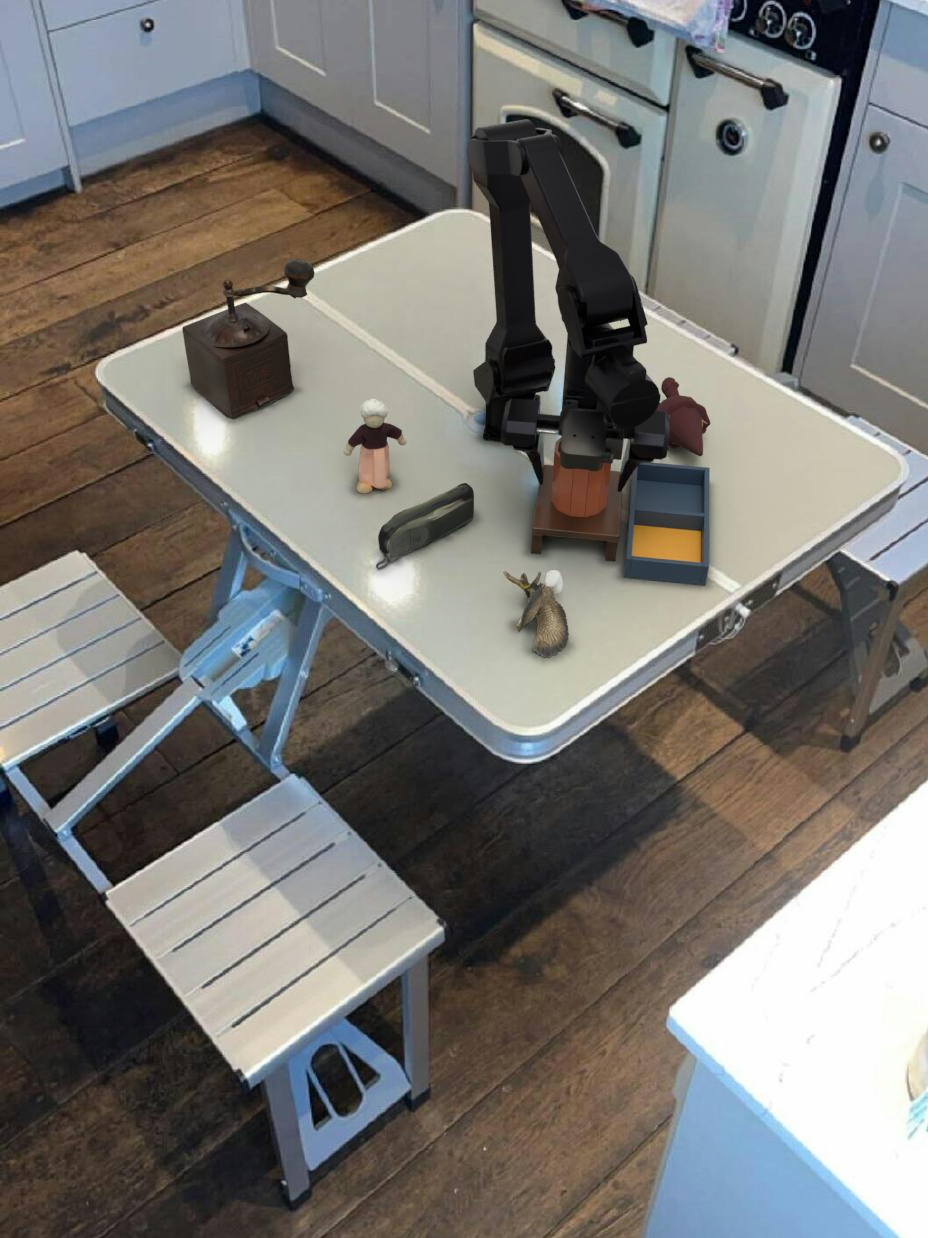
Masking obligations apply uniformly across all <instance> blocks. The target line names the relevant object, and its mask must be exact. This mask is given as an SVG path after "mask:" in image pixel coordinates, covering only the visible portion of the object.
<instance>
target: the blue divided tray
mask: <svg viewBox="0 0 928 1238" xmlns="http://www.w3.org/2000/svg"><path fill="white" fill-rule="evenodd" d="M710 469H711V468H710V467H707V466H697V465H696V466H695V465H685V464H673V463H662V462H650V463H649V462H644V463H640V464H639V465H638V467H637V468H636V469H635V470H634V471H633V473H632V475H631V476H630V485H629V486H630V488H629V500H628V503H629V504H628V515H627V527H626V541H625V542H626V543H625V553H624V554H625V555H624V567H623V569H624V570H623V578H625V579H636V580H644V581H645V580H646V581H656V582H665V583H666V582H667V583H674V584H684V585H685V584H686V585H695V586H706V585H707V579H708V574H709V569H710V472H711V471H710Z"/></svg>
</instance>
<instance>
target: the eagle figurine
mask: <svg viewBox="0 0 928 1238" xmlns="http://www.w3.org/2000/svg"><path fill="white" fill-rule="evenodd" d="M503 575H504V576H505V578H506V579H507V580H508V581H509V582H511V583H512V584H514V585H517V587H519V588H520V590H523V592H524V593H525V596H526V598H527V599H528V600H527V602H526V604H525V606H524V608H523V611H522V613H521V615H520V617H519V619H518V622H517V624H515V627H516V628H517V632H518V633H520V632H521V630H522V629H524V627H525V626H526V625H527V624H529V623H530V622H531V621H532V620H533V619H534V618H535V619H536V622H537V629H536V636H535V639H534V641H533V645H532V651H533V652H536V655H538V656H541V657H542V658H551V657H552V656H553V655H554V656H555V655H556V656H557V654H558V653H559V652H560V651H563V648H565V647H566V646H567V643H568V640H569V636H570V632H569V625H568V618H567V613H566V611H565V610H564V607H563V606H562V604H561V603H559V601H557V600H556V598H555V597H553V596H556V595H559V594H561V593H562V592H563V589H564V585H563V584H564V583H563V581H564V580H563V576H562V573H561V572H560V571H559V570H558V569H557V570H556V569H549V570H548V571H546V572H545V577H544V583H542V581H541V576H542V572H541V571H538V572H537V575H536V577H535V578H534V579H533V580H532V581H531V583H530V582H529V579H528V577H527V574H526V573H525V572H522V573H521V575H520V579H518V578H516V577H514V576H513V575H511V574H510V573H509V572H507V571H503Z"/></svg>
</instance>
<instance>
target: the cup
mask: <svg viewBox="0 0 928 1238" xmlns="http://www.w3.org/2000/svg"><path fill="white" fill-rule="evenodd" d="M560 445H561V437H560V438H558V439H557V440H556V441H555V444H554V451H553V464H552V465H553V479H552V493H551V502H552V503H553V505H554V506H555V507H556V509H557V510H558V511H560V512H562V513H564V514H566V515H568V516H574V517H588V516H592V515H596V514H599V513H600V512H601V511H602V510H603V509H604V508H605V507H606V506H607V497H608V489H609V480H610V471H612V470H611V469H612V464H611V463H604V464H603V467H602V469H600V470H599V471H589V470H583V469H566V468H563V467H562V466H561V464H560ZM605 448H606V445H605Z"/></svg>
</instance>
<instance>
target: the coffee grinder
mask: <svg viewBox="0 0 928 1238" xmlns="http://www.w3.org/2000/svg"><path fill="white" fill-rule="evenodd" d="M283 274H284V275H285V277H286V279H287V281H288V284H287V286H286V287H281V286H276V285H260V286H252V287H245V288H239V289H234V288H233V286H234V283H233V282H232V280H231V279H230V278H226V279H223V281H222V286H223V291H222V294H223V296H224V297H225V298H226V305H227V309H224V310H222V311H219V312H217V313H214V314H212V315H208V316H207V317H204V318H201V319H199V320H196V321H193V322H192V323H189V324H187V325H184V326H182V328H181V329H182V331H181V332H182V336H183V342H184V349H185V355H186V361H187V368H188V372H189V378H190V385H191V386H192V388H193V389H194V390H195V391H196V392H197V393H198V394H199V395H200V396H201V397H202V398H204V399H205V401H207V402H208V403H210V404H211V405H212V406H213V407H214V408H215V409H217V410H218V411H219V412H220V413H221V414H222V415H223V416H225V417H226V418H229V419H231V420H234V419H236V418H239V417H242V416H245V415H248V414H249V413H252V412H254V411H256V410H257V411H258V410H259V409H262V408H265V407H266V406H268V405H271V404H272V403H274V402H276V401H278V400H279V399H282V398H284V397H285V396H287V395H289V394H291V392H293V391H295V387H294V384H293V376H292V368H291V357H290V349H289V338H288V333H287V331H285V330H284V329H283V328H281V327H280V326H278V324H276V323H275V321H272V319H270V318H269V317H267V316H266V315H264V313H262V312H261V311H260V310H258V309H256V308H254V307H253V306H252V305H250V304H248V303H247V302H246V301H245V302H243V303H239V304H237V305H235V299H234V297H247V296H251V295H258V294H270V293H272V294H278V295H284V296H290V297H291V298H293V299H296V298H300V299H303V298H304V297H307V296H308V292H307V286H308V284H309V283H310V282H311V281H312V280H313V279H314V278H315V274H316V272H315V270H314V267H313V265H312V264H311V263H310V262H308V261H307V260H305V259H302V258H293V259H289V260H288V261H286V263H285V264H284V266H283Z"/></svg>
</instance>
